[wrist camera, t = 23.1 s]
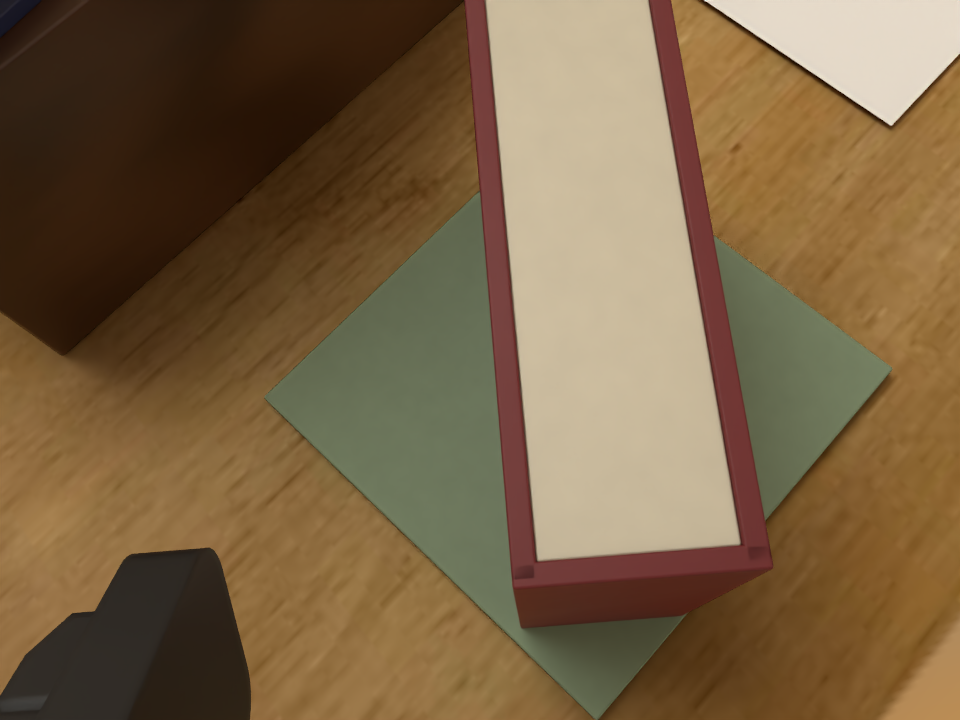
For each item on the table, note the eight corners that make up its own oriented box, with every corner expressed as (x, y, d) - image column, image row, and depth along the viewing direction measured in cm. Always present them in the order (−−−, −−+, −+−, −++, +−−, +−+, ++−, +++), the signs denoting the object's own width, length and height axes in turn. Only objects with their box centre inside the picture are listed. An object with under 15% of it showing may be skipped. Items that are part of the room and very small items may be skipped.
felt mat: (595, 720, 22) (597, 720, 22) (267, 401, 25) (263, 396, 25) (888, 373, 24) (893, 367, 24) (555, 124, 28) (555, 117, 27)
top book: (683, 615, 22) (775, 569, 14) (520, 628, 22) (512, 589, 14) (621, 187, 26) (662, -50, 18) (484, 199, 27) (461, -30, 18)
